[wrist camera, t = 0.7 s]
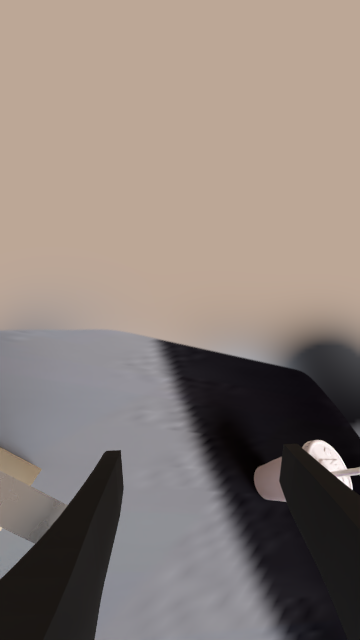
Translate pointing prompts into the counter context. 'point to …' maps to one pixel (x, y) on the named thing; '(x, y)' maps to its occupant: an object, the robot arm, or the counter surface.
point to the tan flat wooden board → (17, 468)
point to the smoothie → (319, 450)
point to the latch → (26, 509)
